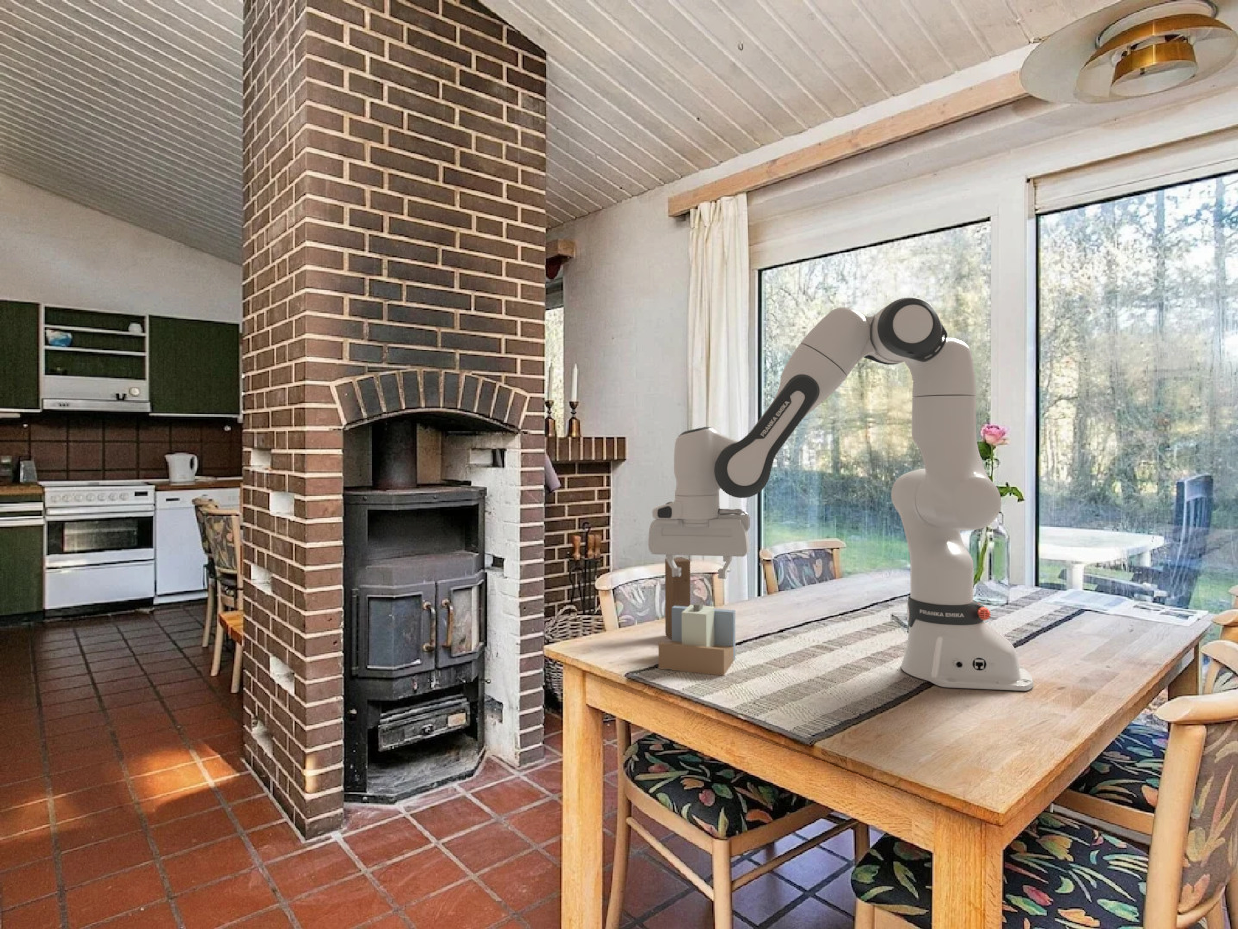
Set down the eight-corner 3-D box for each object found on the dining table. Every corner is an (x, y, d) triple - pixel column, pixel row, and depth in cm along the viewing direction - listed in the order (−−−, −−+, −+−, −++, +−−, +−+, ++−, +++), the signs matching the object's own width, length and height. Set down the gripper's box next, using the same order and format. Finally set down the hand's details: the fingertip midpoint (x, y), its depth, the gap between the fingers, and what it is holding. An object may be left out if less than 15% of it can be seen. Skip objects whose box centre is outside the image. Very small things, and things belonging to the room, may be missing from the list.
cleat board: (735, 658, 148) (735, 610, 148) (723, 675, 138) (723, 623, 137) (674, 652, 153) (674, 605, 152) (658, 668, 142) (658, 618, 142)
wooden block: (700, 643, 159) (700, 562, 159) (682, 646, 158) (681, 564, 157) (682, 633, 168) (682, 556, 167) (664, 635, 166) (664, 558, 165)
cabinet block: (714, 645, 147) (714, 600, 147) (706, 655, 141) (706, 608, 140) (690, 643, 149) (690, 599, 149) (681, 652, 143) (681, 606, 142)
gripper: (752, 507, 143) (753, 576, 144) (654, 507, 151) (656, 572, 151) (746, 510, 138) (748, 582, 138) (644, 510, 145) (646, 578, 145)
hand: (699, 577), depth 145 cm, fingers open, 8 cm apart
